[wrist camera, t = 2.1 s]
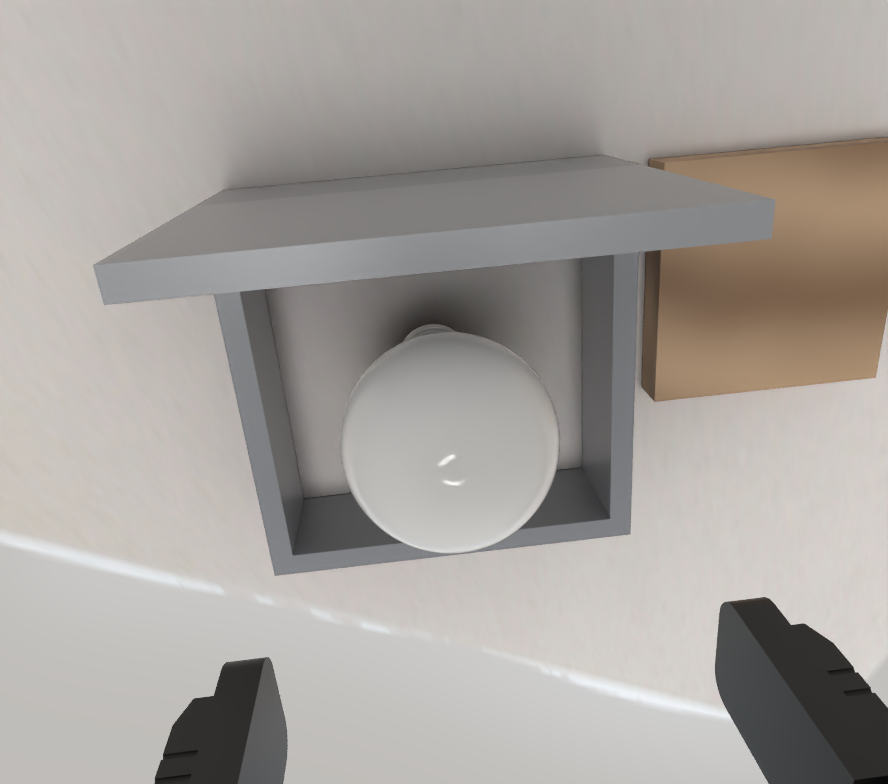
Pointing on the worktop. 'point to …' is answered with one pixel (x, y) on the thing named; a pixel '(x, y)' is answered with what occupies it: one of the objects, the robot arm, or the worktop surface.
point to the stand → (775, 277)
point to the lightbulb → (449, 441)
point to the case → (426, 251)
